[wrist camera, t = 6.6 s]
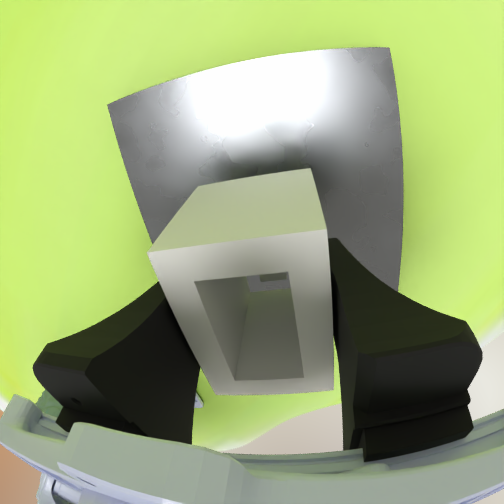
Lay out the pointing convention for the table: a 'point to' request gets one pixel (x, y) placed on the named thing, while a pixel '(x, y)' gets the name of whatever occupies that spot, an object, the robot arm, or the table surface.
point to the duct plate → (277, 143)
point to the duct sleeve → (237, 289)
